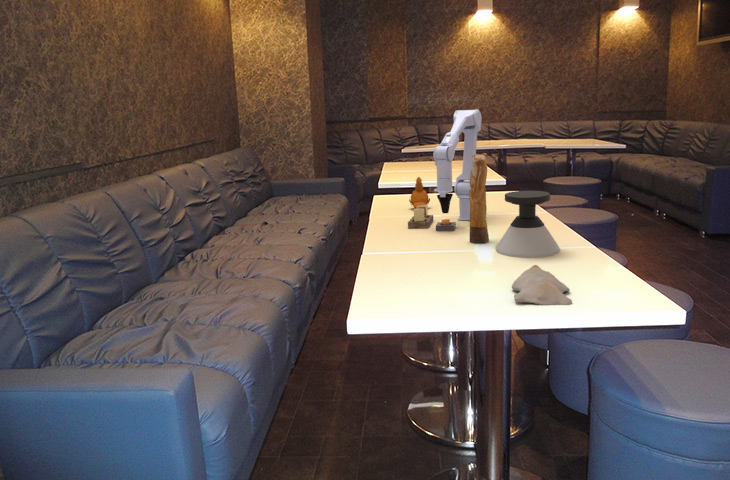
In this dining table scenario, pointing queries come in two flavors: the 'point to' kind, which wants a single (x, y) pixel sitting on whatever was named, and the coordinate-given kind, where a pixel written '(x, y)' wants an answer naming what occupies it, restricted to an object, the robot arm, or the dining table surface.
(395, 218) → the dining table surface
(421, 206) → the block
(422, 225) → the brown compartment tray
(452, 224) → the button housing
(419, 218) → the block
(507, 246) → the light fixture
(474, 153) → the robot arm
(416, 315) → the dining table surface
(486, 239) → the sculpture
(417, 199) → the toy
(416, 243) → the dining table surface
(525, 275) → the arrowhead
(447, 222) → the button
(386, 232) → the dining table surface
